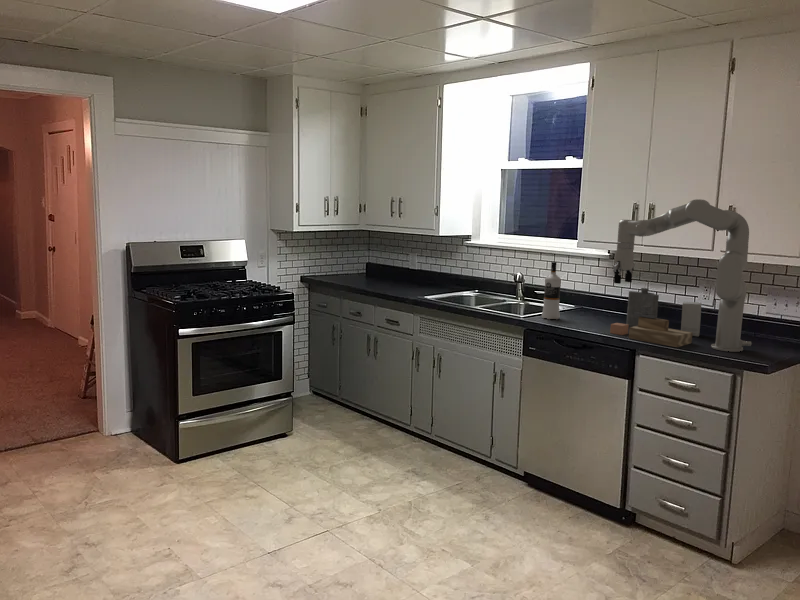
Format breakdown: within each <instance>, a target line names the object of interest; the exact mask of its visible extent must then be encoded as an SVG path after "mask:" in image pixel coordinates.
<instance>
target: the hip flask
mask: <svg viewBox="0 0 800 600" xmlns="http://www.w3.org/2000/svg"><path fill="white" fill-rule="evenodd" d="M649 289H650V288H647V287H641V288H640V290H641V291H633V290H632V291H631V290H630V291H628V298H627V299H628V300H627V310H626V323H625V324H628V325H629V327H634V326H638V321H639V317H641V316H634V315H633V314H634V313H635V312H639V313H643V311H640V307H641V306H651V310H650V311H648V314H652V315H657V316H658V311H659V310H658V309H659V297H660V296H659V294H655V293H653V292H649Z"/></svg>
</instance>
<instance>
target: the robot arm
mask: <svg viewBox="0 0 800 600" xmlns="http://www.w3.org/2000/svg"><path fill="white" fill-rule="evenodd" d="M694 222H697V223H699V224H702V225H704V226H706V227H709V228H712V229H713V230H716V231H721V232H723V231H726V232H727V233H726V234H727V237H726V241H725V242H726V243H725V253H724V254H722V256H720V258H719V260H718V263H717V266H716V267H717V268H716V279H715V292H716V295H717V297H719V299H720V300H719V305H718V314H717V323H716V331H715V332H716V333H715V334H716V335H715V343H711V345H710V348H711V349H714V350H717V351H721V352H728V351H729V353H730V352H731V353H739V352H740V351H741V352H743V351H744V346H746V347H751V346H752V344H753V343H752V341H746V340H742V339H741V335H742V325H743V314H744V309H745V302H746V297H747V296H746V295H747V284H746V281H744V279H742V275H743V272H744V271H745V270H746V269H747V266H748V256H749V255H748V254H749V240H750V228H749V224H748V222H747V220H746V219H745V217H744V216H743V215H741V214H740V213H738V212H736V211H734V210H729V209H725V210H724V209H721V208H719V207H716V206H714V205H711V204H710V202H709V201H707V200H705V199H701V198H700V199H697V198H696V199H693V200H690V201H689V202H687V203H686V204H682V205H679V206H677V207H676V206H675V207H673V208H670V209H669V210H668V211H666V212H665V213H663V214H661V215H658V216H655V217H653V218H649V219H641V220H639V219H638V220H634V219H620V220H619V221H618V230H617V231H618V232H617V242H616V250H615V255H614V262H613V266H612V269H613V275H614V276H613V284H619V285H620V284H621V283H622V275H621V274H622V272H626V273H624V275H625V276H624V282H625V283H632V281H633V280H632V279H633V274H634V269H635V265H636V264H635V263H634V250H635V238H636V237H651V236H653V235H656V234H660V233H663V232H665V231H669V230H671V229H676V228H679V227H683V226H685V225H688V224H691V223H694Z"/></svg>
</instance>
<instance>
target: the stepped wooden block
mask: <svg viewBox="0 0 800 600" xmlns="http://www.w3.org/2000/svg"><path fill="white" fill-rule="evenodd" d="M669 325H670V320H669V319H665V318H664V319H663V318H658V317H657V318H654V319H653V318H647V317H639V321H638V326H634V327H631V326H629V327H628V338H629V339H630V340H635V341H636V340H637V341H640V342H641V341H642V342H648V343H652V344H653V343H654V344H657V345H663V346H669V347H675V348H679V347H683V346H687V345H690V344H692V343H693V336H692V334H693V332H688V331H682V330H681V329H674V328H670V327H669Z"/></svg>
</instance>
